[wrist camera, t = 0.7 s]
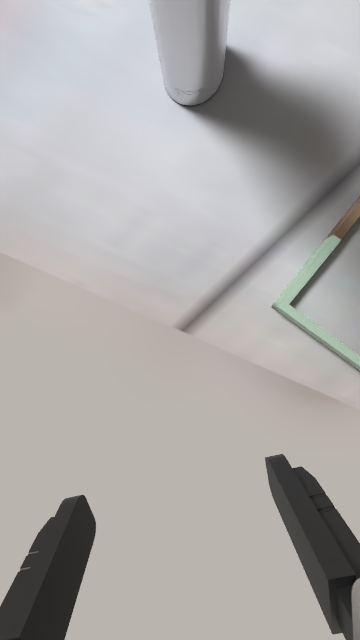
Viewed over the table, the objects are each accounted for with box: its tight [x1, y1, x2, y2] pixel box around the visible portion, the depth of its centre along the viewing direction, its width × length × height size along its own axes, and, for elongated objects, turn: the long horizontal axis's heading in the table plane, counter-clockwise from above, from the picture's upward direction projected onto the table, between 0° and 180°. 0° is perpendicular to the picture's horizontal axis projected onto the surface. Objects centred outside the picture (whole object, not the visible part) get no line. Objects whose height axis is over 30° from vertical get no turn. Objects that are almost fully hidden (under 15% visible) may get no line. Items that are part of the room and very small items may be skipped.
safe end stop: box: [272, 235, 360, 371], centre depth 31 cm, size 13×18×3 cm
